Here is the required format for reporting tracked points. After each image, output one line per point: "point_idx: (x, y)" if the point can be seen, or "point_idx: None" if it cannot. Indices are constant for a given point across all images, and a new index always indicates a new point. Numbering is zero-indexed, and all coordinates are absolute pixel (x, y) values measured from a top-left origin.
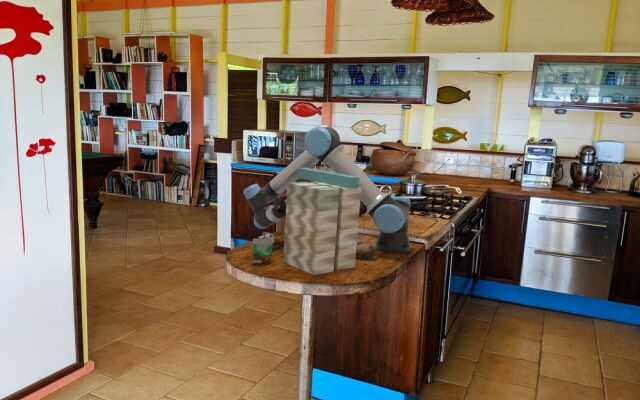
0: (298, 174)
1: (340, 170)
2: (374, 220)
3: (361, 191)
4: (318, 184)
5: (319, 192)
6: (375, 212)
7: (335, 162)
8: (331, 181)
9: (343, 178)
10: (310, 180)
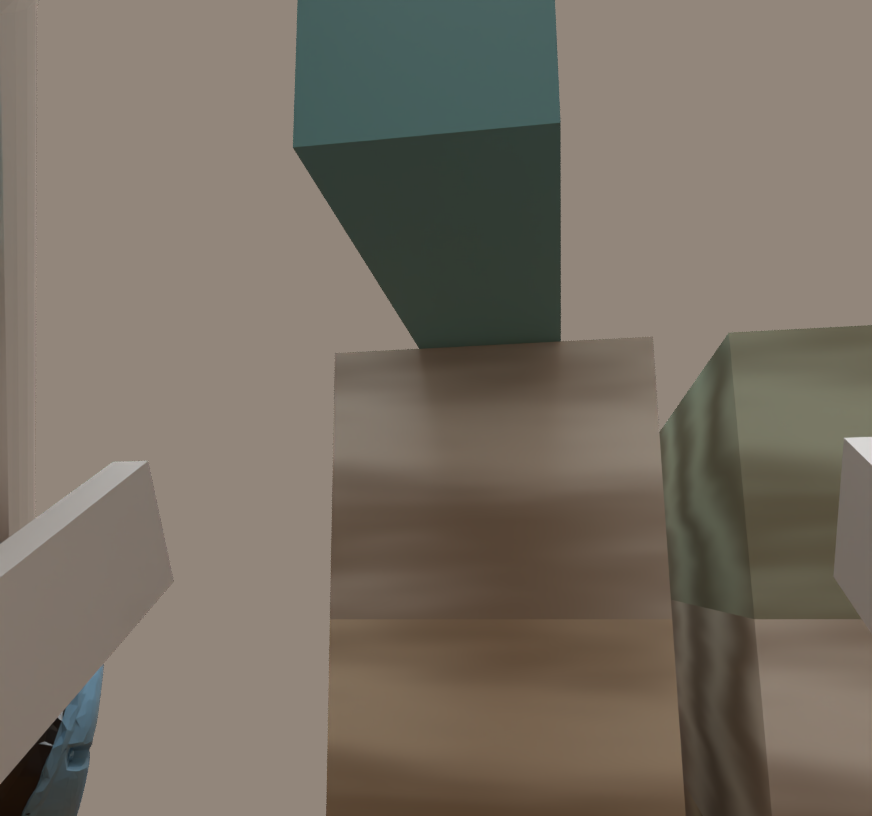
0: (555, 54)
1: (24, 219)
2: (87, 766)
3: (30, 510)
4: (691, 390)
5: None
6: (97, 687)
7: (31, 80)
8: None
9: None
10: (559, 304)
